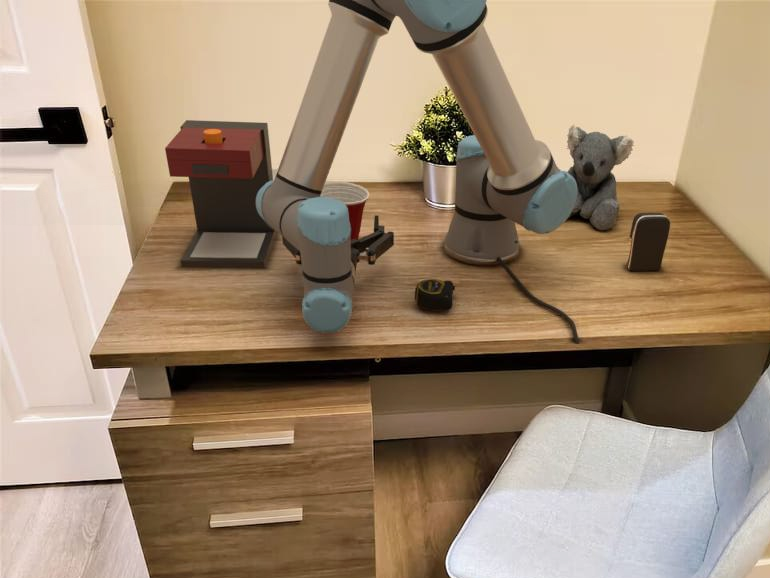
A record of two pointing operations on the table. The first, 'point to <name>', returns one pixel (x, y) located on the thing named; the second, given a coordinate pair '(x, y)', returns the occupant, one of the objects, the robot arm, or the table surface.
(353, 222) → the plastic cup
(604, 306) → the table surface
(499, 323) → the table surface
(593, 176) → the koala plush
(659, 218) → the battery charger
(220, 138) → the button
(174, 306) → the table surface
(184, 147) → the coffee maker
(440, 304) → the tape measure
